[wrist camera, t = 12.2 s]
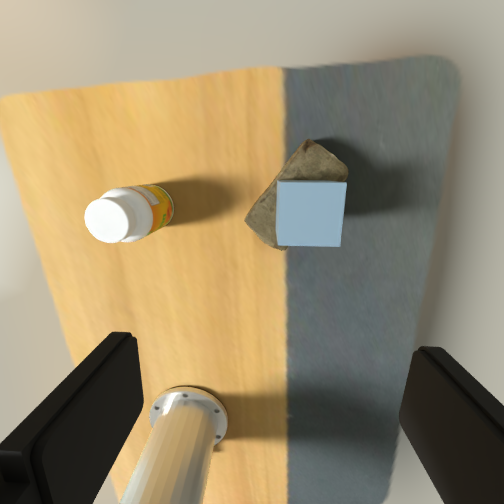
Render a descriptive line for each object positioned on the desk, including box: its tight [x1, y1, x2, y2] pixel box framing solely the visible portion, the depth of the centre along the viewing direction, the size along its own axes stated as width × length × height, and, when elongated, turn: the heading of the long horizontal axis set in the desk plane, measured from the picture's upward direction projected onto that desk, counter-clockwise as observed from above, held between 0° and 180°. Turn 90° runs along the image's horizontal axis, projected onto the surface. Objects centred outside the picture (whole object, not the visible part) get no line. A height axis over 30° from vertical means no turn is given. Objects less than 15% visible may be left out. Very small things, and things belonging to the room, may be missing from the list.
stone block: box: [244, 139, 349, 251], centre depth 28 cm, size 6×12×5 cm, turn 144°
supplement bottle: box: [85, 184, 174, 243], centre depth 27 cm, size 5×5×10 cm
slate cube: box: [276, 180, 347, 247], centre depth 23 cm, size 5×5×6 cm
